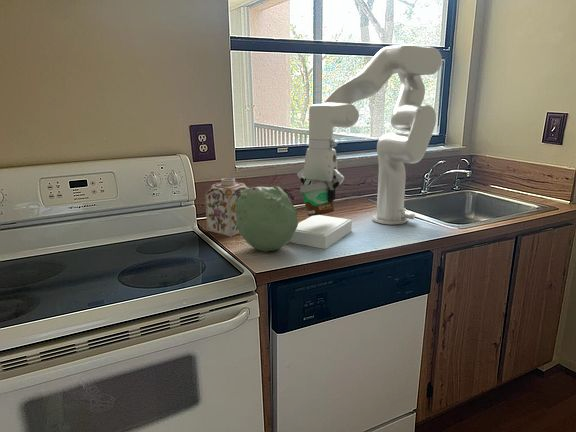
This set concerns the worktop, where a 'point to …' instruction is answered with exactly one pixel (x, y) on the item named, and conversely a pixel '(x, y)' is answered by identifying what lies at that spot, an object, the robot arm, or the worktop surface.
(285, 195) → the cabbage
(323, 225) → the base
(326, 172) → the robot arm
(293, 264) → the worktop surface
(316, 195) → the food container
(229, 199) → the decorative jar
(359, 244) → the worktop surface
